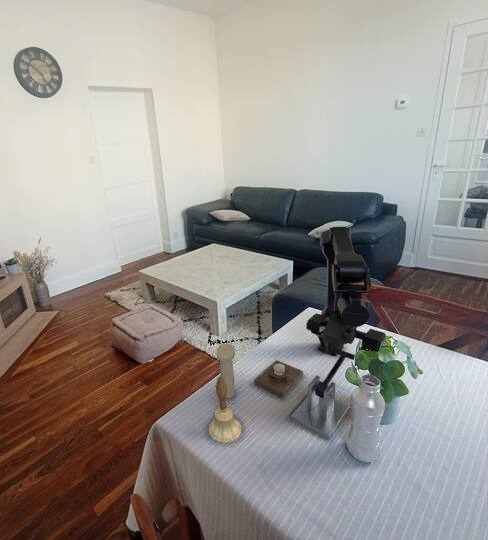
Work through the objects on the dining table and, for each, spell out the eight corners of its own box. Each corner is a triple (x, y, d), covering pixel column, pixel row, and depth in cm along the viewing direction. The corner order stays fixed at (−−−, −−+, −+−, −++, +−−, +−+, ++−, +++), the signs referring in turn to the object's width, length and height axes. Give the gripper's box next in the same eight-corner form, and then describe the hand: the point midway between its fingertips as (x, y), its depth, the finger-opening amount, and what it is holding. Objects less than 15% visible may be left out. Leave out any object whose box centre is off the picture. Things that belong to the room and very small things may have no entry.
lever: (336, 352, 94) (336, 346, 93) (355, 359, 91) (355, 352, 90) (309, 392, 85) (309, 386, 84) (329, 401, 82) (328, 394, 80)
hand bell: (232, 448, 79) (228, 394, 73) (202, 435, 83) (196, 382, 78) (247, 423, 85) (244, 372, 80) (218, 412, 90) (214, 362, 84)
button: (277, 367, 100) (277, 362, 100) (286, 371, 98) (286, 366, 98) (271, 372, 98) (271, 367, 98) (281, 377, 96) (281, 372, 96)
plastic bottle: (365, 472, 71) (374, 396, 64) (339, 449, 76) (345, 377, 69) (385, 458, 73) (396, 384, 66) (358, 436, 79) (366, 366, 72)
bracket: (312, 393, 94) (313, 364, 90) (349, 410, 87) (352, 379, 83) (290, 419, 86) (291, 388, 82) (329, 440, 79) (331, 407, 75)
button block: (276, 364, 106) (276, 355, 105) (303, 376, 100) (303, 366, 99) (254, 385, 99) (254, 375, 97) (282, 398, 93) (282, 388, 91)
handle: (237, 387, 98) (234, 343, 93) (236, 403, 92) (234, 357, 87) (220, 387, 99) (217, 343, 94) (219, 403, 93) (215, 357, 88)
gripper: (296, 309, 86) (295, 360, 91) (374, 331, 73) (368, 389, 79) (316, 293, 93) (314, 341, 99) (390, 311, 81) (383, 365, 86)
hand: (342, 358), depth 90 cm, fingers open, 9 cm apart
